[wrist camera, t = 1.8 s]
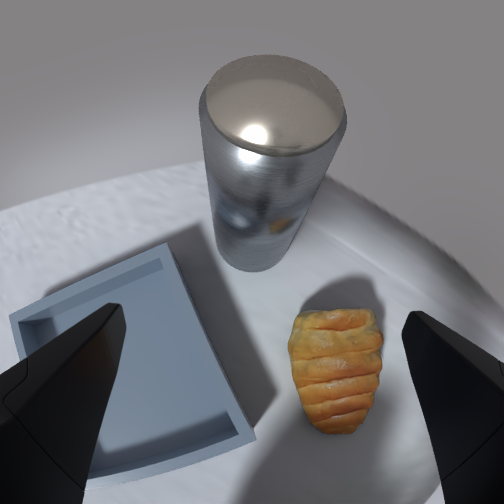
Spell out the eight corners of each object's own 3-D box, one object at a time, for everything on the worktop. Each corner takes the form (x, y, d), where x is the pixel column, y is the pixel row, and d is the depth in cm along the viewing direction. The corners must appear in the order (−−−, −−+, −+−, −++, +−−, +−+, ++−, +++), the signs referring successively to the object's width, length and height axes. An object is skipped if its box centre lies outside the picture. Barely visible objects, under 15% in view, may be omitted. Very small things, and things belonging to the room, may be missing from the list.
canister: (301, 254, 24) (379, 131, 10) (233, 284, 23) (235, 177, 9) (269, 193, 25) (302, 43, 11) (204, 219, 24) (178, 70, 10)
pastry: (374, 422, 20) (396, 432, 17) (289, 436, 20) (299, 451, 16) (367, 306, 23) (389, 297, 20) (283, 312, 23) (292, 304, 19)
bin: (253, 428, 20) (256, 439, 17) (92, 479, 17) (76, 491, 14) (174, 255, 23) (166, 242, 20) (29, 320, 21) (8, 315, 18)
